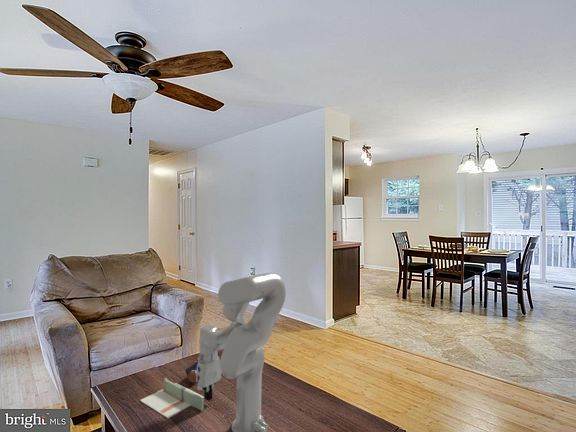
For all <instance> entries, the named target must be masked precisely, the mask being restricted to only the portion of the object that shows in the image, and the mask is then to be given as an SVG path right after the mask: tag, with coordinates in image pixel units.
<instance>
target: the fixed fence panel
mask: <svg viewBox="0 0 576 432" xmlns="http://www.w3.org/2000/svg"><path fill="white" fill-rule="evenodd" d="M162 379H163V382H162V383H163V385H162V386H163V391H166V392H168V393H169V394H171V395H173V396H175V397H177V398H179V399H180V400H181V399H182V389H183V388H182V387H180V386H178V385H176V384H175V382H172V381H170V380H169V379H168V378H167V377H164V378H162Z"/></svg>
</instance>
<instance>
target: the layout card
mask: <svg viewBox="0 0 576 432" xmlns="http://www.w3.org/2000/svg"><path fill="white" fill-rule="evenodd" d="M174 384H176V385H178V386H180V387H182V388H185V389H186V390H188V391H190V392H192V393H194V394H196V395H198V396H200V397H202V398H204V396H203V395H201V394H199V393H197V392H195V391H193V390H191V389H190V388H188V387H185V386H183V385H181V384H179V383H177V382H174ZM204 399H205V398H204ZM139 401H140V402H141V403H143V404H144V405H146V406H148V407H149V408H151V409H152V410H153V411H155V412H156V413H158V414H160V415H162V416H163V417H165V419H169V418H171V417H173V416H175V415H177V414H179V413H181V412H182V411H184V410H186V409H187V408H189V407H190V406H192V405H190V404H189V403H187V402H185V401H182V399H181V400H180V399H179V398H177V397H175V396H173V395H171V394H169V393H168V392H166V391H163V389H160V390H158V391H156V392H155V393H152V394H150V395H148V396H146V397H143V398H141V399H139Z"/></svg>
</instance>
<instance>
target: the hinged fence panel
mask: <svg viewBox="0 0 576 432" xmlns="http://www.w3.org/2000/svg"><path fill="white" fill-rule="evenodd" d="M182 401H185V402H187V403H189V404H190V405H191V406H192V407H194V408H196V409H197V410H199V411H204V409H205V408H204V404H205V403H204V402H205V398H202V397H200V396H198V395H196V394H194V393H192V392H190V391H188V390H186V389H185V388H183V389H182Z"/></svg>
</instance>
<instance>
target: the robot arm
mask: <svg viewBox="0 0 576 432" xmlns="http://www.w3.org/2000/svg"><path fill="white" fill-rule="evenodd" d="M286 290H287V289H286V286H285V283H284V280H283V279H282V277H281V276H280V275H278V274H276V273H275V272H264V273H260V274H254V275H251V276H250V275H249V276H246V277H245V276H244V277H241V278H238V279H234V280H229V281H225V282H223V283H222V284H221V285H220V287H219V289H218V293H217V294H218V295H217V298H218V300H219V302H220V303H221V304H222V305H224V306H223V307H222V314H223V316H224V317H225V318H226V319H227V320H228V321H230V324H229V325H228V326H227V327H224V328H220V329H218V327H217V326H216V325H214V324H207V325H203V326H202V327H200V329H199V352H198V353H199V356H198V357H197V360H198V365H197V374H196V382H195V383H196V385H197V386H196V389H197V390H198V391H202V390H203V391H204V393H203V395H204V396H203V397H204V400H206V401H208V402H210V401H211V400H213V390H214V388H215V385H216V383H218V382H219V381H220V380H221V379H222V376H223V377H224V378H225V379H228V380H235V379H236V382H235V385H236V387H235V419H234V420H233V421H232V422H231V432H267V431H268V427H269V423H266V420H264V415H262V383H263V382H262V378H263V376H262V375H263V368H264V362H265V350H264V346H265V345H267V343H268V342H269V339H270V336H271V334H272V332H273V329H274V327H275V325H276V322H277V319H278V317H279V315H280V314H281V313H280V312H281V311H282V309H283V306H284V304H285V301H286V300H285V299H286ZM258 300H261V301H260V302H259V303H258V305H257V306H256V308H255V309H254V312H253V315H252V317H251V319H250V321H248V322H247V323H246V320H245V317H244V315H245V313H246V311H247V308H248V306H249V304H250V303H251V302H255V301H258ZM221 350H223V351H222V352H221V356H220V357H219V355H218V354H219V353H218V352H219V351H221Z"/></svg>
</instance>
